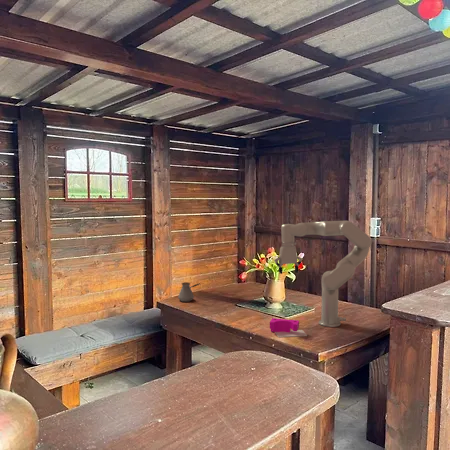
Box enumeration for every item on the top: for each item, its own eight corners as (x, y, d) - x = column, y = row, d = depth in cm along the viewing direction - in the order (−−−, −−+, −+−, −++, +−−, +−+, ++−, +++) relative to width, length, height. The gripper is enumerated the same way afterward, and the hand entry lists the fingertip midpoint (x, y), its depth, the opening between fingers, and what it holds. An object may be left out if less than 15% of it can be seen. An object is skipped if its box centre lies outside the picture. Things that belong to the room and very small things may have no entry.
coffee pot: (174, 300, 293) (174, 280, 292) (187, 297, 301) (186, 278, 300) (194, 306, 278) (194, 284, 277) (206, 302, 286) (206, 282, 285)
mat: (302, 330, 226) (302, 329, 226) (307, 336, 217) (307, 335, 217) (274, 331, 224) (274, 331, 224) (278, 337, 215) (278, 336, 215)
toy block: (272, 328, 228) (269, 333, 221) (272, 318, 228) (269, 321, 220) (298, 331, 223) (296, 335, 216) (298, 320, 223) (297, 324, 216)
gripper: (299, 243, 244) (300, 271, 245) (272, 244, 241) (272, 272, 242) (304, 244, 237) (304, 273, 238) (276, 246, 234) (276, 275, 235)
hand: (288, 273), depth 240 cm, fingers open, 9 cm apart
